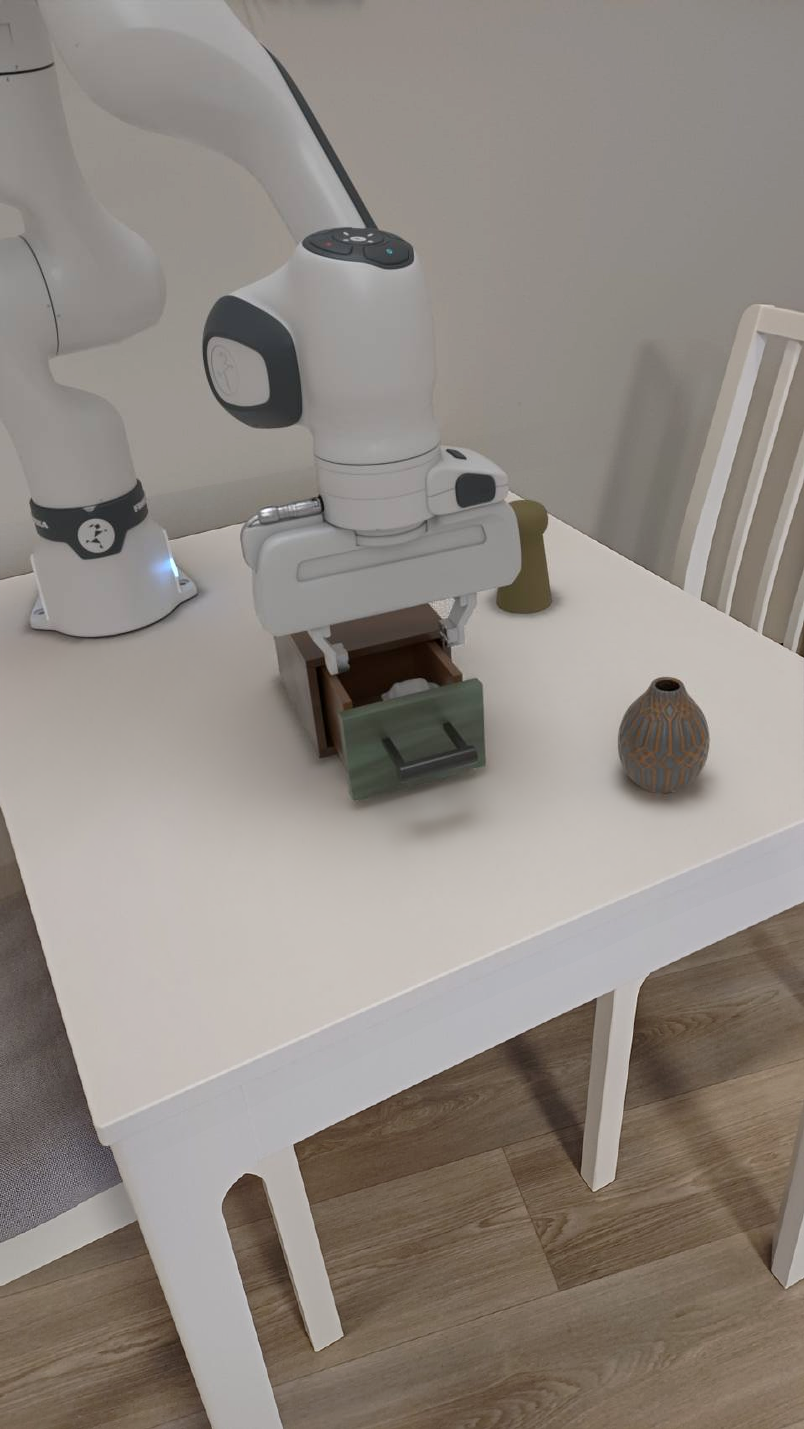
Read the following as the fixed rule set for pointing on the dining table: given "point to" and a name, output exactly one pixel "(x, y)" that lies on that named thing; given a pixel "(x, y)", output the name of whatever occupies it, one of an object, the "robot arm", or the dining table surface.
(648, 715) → the vase
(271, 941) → the dining table surface
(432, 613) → the cabinet
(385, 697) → the garlic
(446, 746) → the drawer
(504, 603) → the olive green pawn
